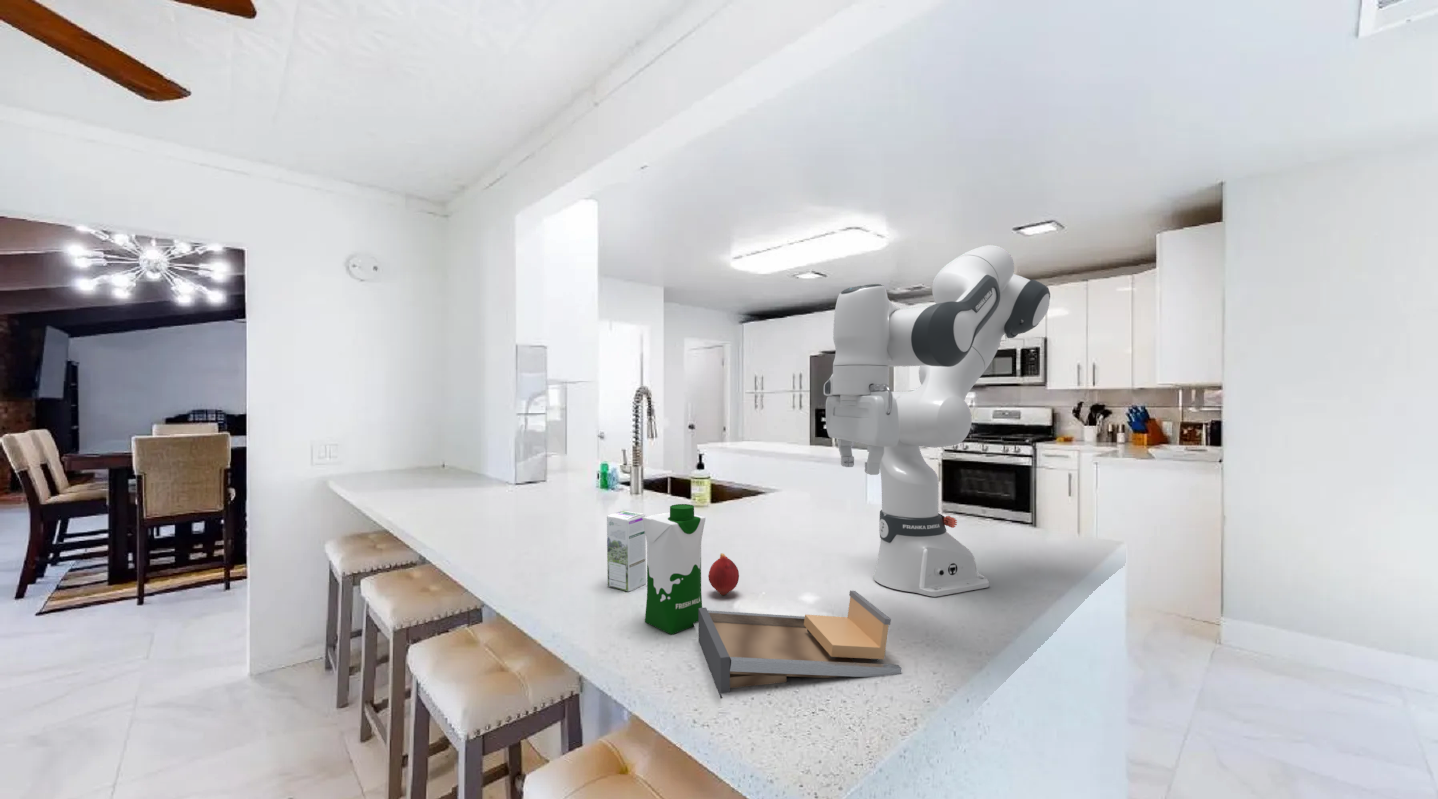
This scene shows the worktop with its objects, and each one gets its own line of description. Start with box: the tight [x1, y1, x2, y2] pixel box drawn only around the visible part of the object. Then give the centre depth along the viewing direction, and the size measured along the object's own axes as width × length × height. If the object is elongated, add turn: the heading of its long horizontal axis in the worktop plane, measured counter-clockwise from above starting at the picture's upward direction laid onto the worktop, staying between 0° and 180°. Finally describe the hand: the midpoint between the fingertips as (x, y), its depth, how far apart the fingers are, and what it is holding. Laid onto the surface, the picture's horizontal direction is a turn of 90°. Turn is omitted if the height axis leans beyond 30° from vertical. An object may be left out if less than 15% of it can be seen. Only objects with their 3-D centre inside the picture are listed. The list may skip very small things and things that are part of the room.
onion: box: [708, 553, 740, 596], centre depth 110 cm, size 6×6×8 cm
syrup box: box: [606, 510, 647, 592], centre depth 115 cm, size 6×6×14 cm
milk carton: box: [642, 503, 706, 636], centre depth 97 cm, size 9×9×20 cm
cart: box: [804, 590, 892, 663], centre depth 85 cm, size 9×12×7 cm
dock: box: [697, 607, 902, 699], centre depth 84 cm, size 25×17×6 cm
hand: (859, 470), depth 92 cm, fingers open, 8 cm apart
